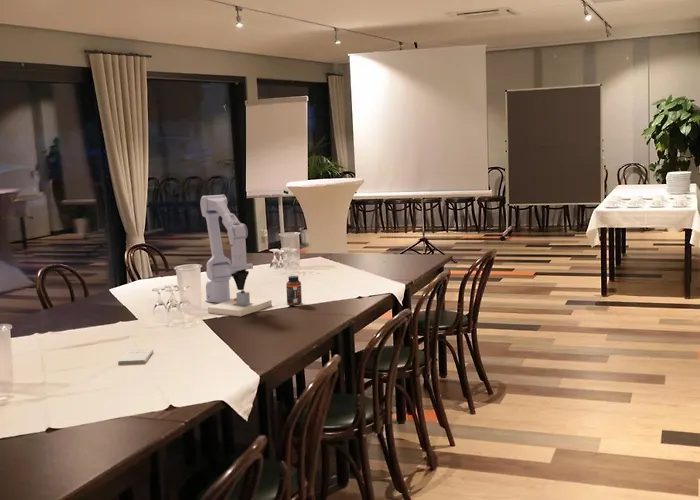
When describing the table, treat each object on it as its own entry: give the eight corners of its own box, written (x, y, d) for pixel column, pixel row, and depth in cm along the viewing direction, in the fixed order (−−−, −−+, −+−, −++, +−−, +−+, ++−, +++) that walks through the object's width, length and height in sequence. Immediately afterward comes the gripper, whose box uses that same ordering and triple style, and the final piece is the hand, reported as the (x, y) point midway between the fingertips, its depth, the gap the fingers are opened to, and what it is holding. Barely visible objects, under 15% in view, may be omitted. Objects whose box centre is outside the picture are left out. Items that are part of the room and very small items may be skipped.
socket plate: (208, 312, 302) (207, 305, 301) (240, 302, 319) (239, 295, 318) (240, 316, 294) (240, 308, 293) (271, 305, 311) (271, 298, 310)
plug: (237, 310, 304) (236, 291, 303) (242, 308, 306) (241, 289, 305) (245, 311, 302) (244, 291, 301) (250, 309, 304) (249, 290, 303)
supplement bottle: (299, 305, 309) (298, 277, 307) (285, 305, 310) (284, 277, 308) (303, 302, 314) (302, 275, 313) (289, 302, 316) (288, 275, 314)
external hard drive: (118, 366, 236) (127, 354, 248) (145, 365, 236) (153, 353, 248) (117, 361, 236) (127, 349, 248) (145, 359, 236) (153, 348, 248)
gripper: (235, 258, 293) (237, 294, 295) (258, 253, 305) (260, 286, 307) (220, 257, 297) (222, 292, 299) (244, 252, 309) (245, 285, 311)
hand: (240, 289), depth 303 cm, fingers closed
